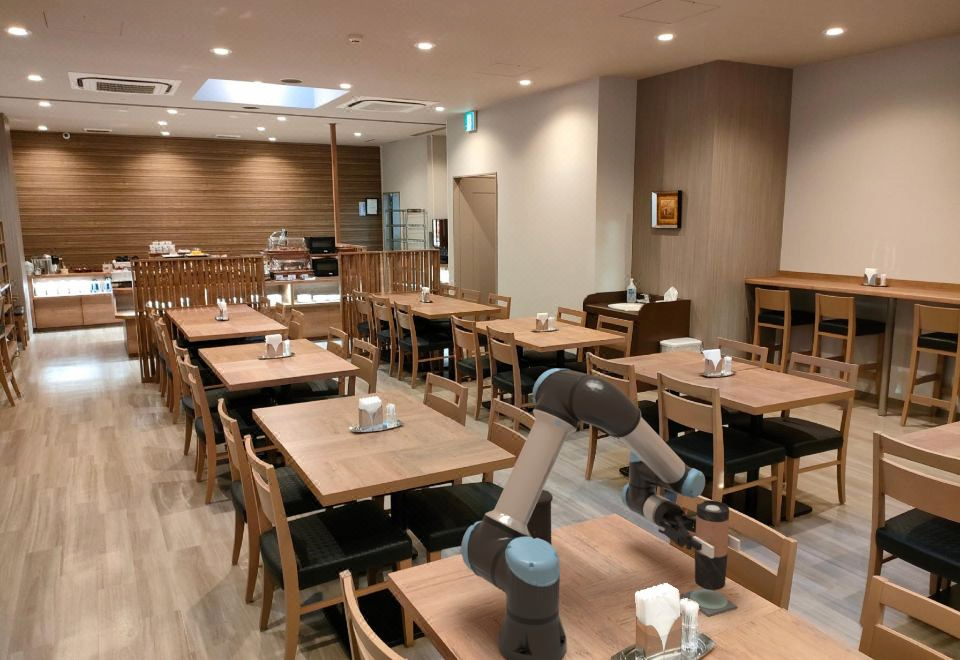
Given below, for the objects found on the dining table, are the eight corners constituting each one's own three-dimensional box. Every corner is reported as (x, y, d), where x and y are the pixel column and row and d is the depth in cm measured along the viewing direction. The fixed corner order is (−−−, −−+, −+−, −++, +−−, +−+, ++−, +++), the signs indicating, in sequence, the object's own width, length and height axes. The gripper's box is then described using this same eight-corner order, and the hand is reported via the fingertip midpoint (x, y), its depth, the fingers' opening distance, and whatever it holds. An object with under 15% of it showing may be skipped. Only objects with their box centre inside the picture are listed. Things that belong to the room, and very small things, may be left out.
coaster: (708, 616, 163) (708, 612, 163) (680, 596, 172) (680, 592, 172) (737, 608, 166) (737, 604, 166) (708, 588, 175) (708, 585, 175)
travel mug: (728, 592, 164) (732, 513, 161) (695, 589, 165) (698, 511, 163) (723, 576, 171) (727, 501, 168) (692, 573, 173) (694, 499, 170)
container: (515, 557, 193) (515, 490, 190) (542, 550, 197) (543, 484, 194) (530, 570, 186) (530, 500, 183) (558, 563, 189) (559, 495, 186)
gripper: (693, 519, 188) (757, 555, 167) (632, 533, 180) (691, 573, 159) (694, 494, 187) (758, 526, 166) (633, 506, 179) (693, 542, 158)
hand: (725, 549), depth 162 cm, fingers closed on travel mug, 7 cm apart
